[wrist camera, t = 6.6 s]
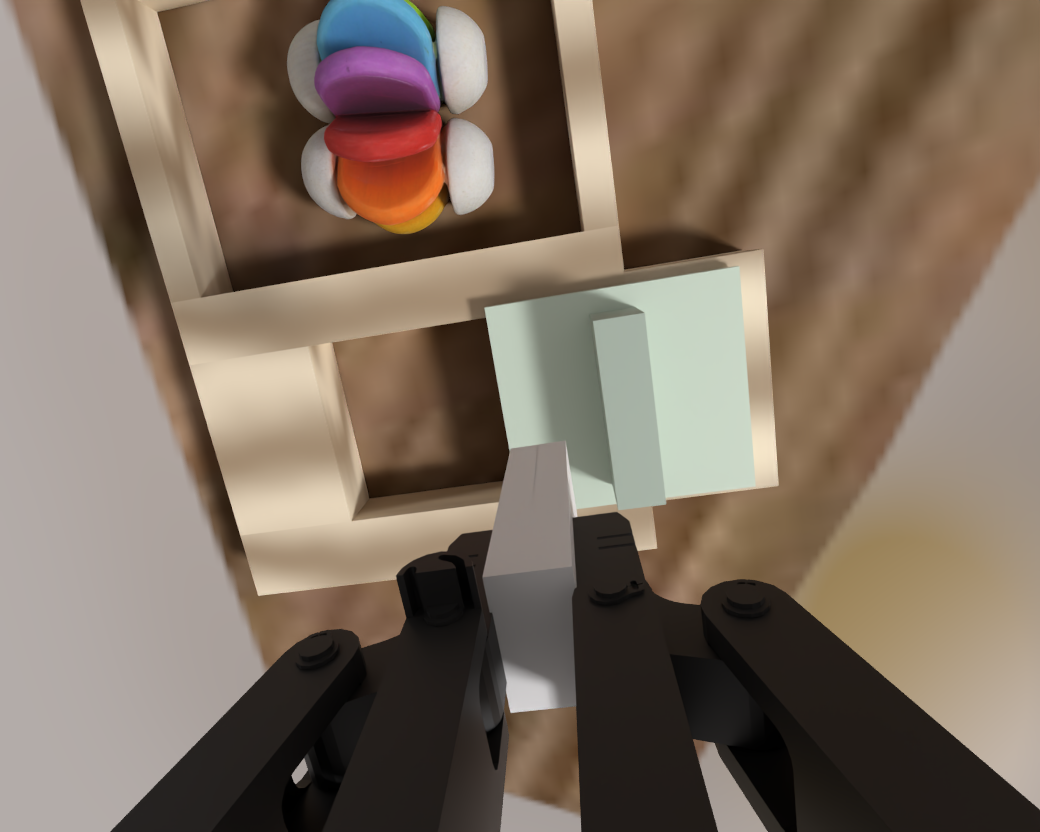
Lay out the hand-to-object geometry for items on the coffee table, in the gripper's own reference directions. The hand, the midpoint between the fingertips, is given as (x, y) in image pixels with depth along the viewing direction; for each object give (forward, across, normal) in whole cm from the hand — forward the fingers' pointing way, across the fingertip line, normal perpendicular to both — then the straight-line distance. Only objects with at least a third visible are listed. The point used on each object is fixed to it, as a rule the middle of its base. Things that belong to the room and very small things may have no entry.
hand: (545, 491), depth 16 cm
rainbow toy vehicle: (+16, -5, +13) cm, 21 cm away
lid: (+12, +3, -1) cm, 12 cm away
